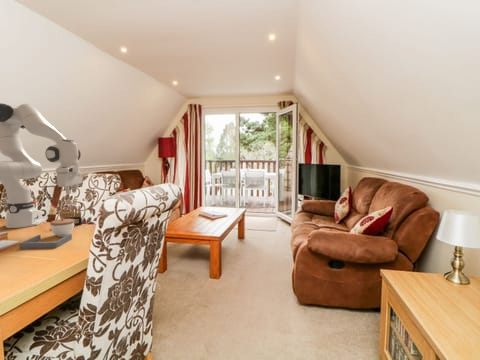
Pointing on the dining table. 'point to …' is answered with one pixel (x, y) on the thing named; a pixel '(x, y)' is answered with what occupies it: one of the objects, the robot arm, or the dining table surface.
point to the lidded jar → (62, 227)
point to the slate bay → (34, 244)
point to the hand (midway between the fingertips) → (71, 193)
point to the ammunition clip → (72, 215)
